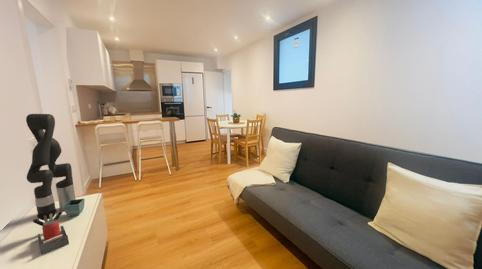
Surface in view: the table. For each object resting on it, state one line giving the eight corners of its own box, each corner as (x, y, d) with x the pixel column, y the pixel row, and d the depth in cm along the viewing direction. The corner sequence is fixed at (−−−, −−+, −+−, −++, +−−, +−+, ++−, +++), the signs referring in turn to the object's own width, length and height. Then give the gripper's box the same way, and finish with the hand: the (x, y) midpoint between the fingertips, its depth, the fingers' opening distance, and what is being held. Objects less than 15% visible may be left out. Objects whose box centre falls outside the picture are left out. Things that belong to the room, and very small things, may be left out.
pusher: (44, 248, 104) (42, 241, 103) (63, 240, 110) (62, 234, 109) (44, 249, 104) (42, 242, 103) (63, 241, 109) (62, 234, 109)
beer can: (42, 247, 105) (38, 227, 103) (49, 239, 111) (45, 220, 109) (58, 244, 107) (54, 224, 105) (63, 236, 114) (60, 217, 111)
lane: (38, 239, 111) (36, 231, 110) (63, 230, 119) (62, 222, 118) (40, 255, 99) (39, 246, 99) (69, 243, 108) (67, 235, 107)
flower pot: (86, 209, 141) (84, 198, 140) (80, 216, 133) (79, 204, 132) (71, 211, 139) (69, 200, 137) (65, 219, 131) (62, 206, 129)
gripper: (59, 196, 122) (63, 222, 125) (28, 205, 112) (34, 232, 115) (61, 200, 117) (66, 227, 120) (29, 210, 107) (35, 238, 110)
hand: (50, 229), depth 118 cm, fingers closed
